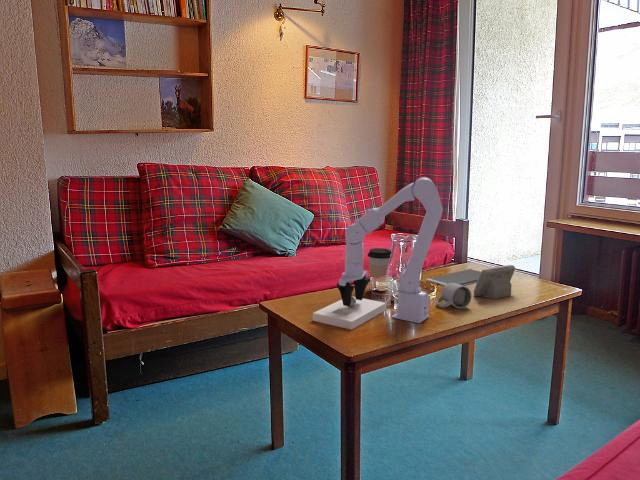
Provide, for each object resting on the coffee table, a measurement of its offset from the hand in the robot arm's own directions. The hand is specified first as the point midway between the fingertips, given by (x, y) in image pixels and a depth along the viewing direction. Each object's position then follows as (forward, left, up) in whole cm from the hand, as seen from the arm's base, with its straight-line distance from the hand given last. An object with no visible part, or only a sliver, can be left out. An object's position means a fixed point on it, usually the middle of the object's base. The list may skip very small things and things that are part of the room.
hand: (352, 302), depth 174 cm
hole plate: (0, +2, -4) cm, 4 cm away
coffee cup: (+6, -29, -4) cm, 30 cm away
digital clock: (-31, -47, -4) cm, 57 cm away
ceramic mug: (-24, -26, -4) cm, 35 cm away
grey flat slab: (-14, -61, -5) cm, 63 cm away
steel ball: (0, +2, +1) cm, 2 cm away
